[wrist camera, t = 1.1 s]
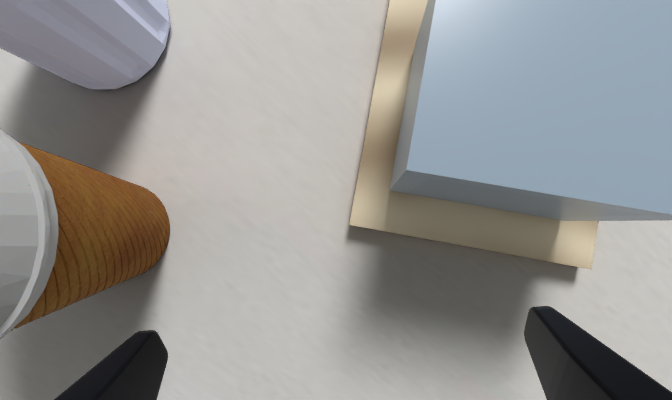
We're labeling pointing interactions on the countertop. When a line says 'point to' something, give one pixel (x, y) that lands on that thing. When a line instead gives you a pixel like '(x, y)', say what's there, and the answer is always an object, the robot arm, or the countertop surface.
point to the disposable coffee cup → (68, 232)
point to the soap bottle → (87, 38)
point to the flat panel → (436, 214)
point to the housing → (542, 108)
